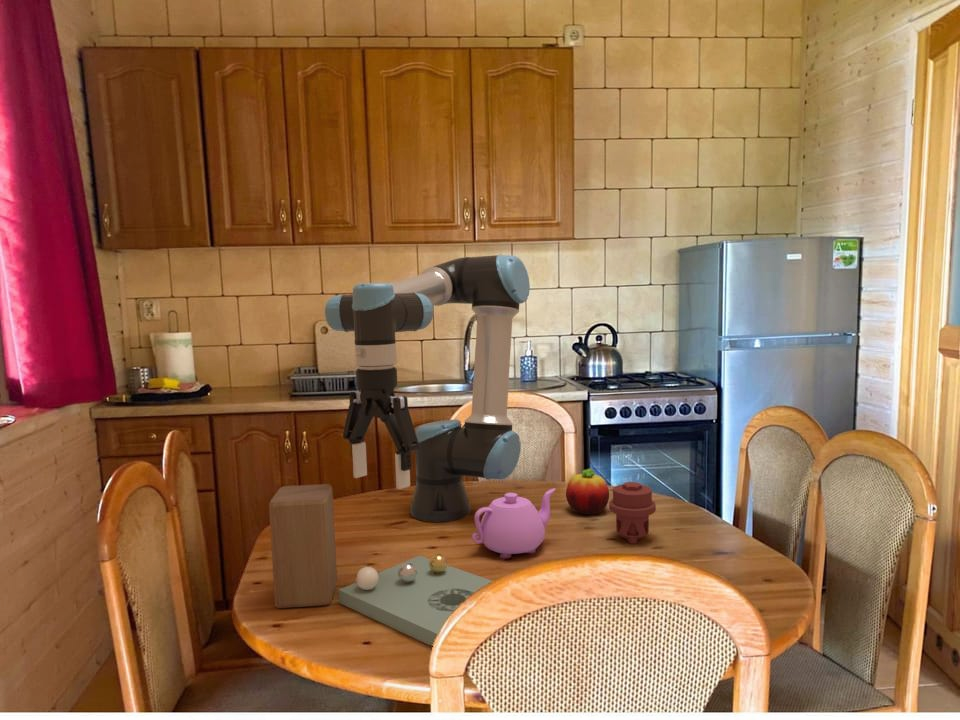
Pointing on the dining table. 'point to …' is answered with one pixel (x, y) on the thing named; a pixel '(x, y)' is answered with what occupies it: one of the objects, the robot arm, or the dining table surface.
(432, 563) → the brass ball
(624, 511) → the mechanical component
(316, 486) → the wooden block
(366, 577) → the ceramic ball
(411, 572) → the steel ball
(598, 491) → the fruit
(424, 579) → the board
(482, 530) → the teapot
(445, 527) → the dining table surface
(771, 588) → the dining table surface
